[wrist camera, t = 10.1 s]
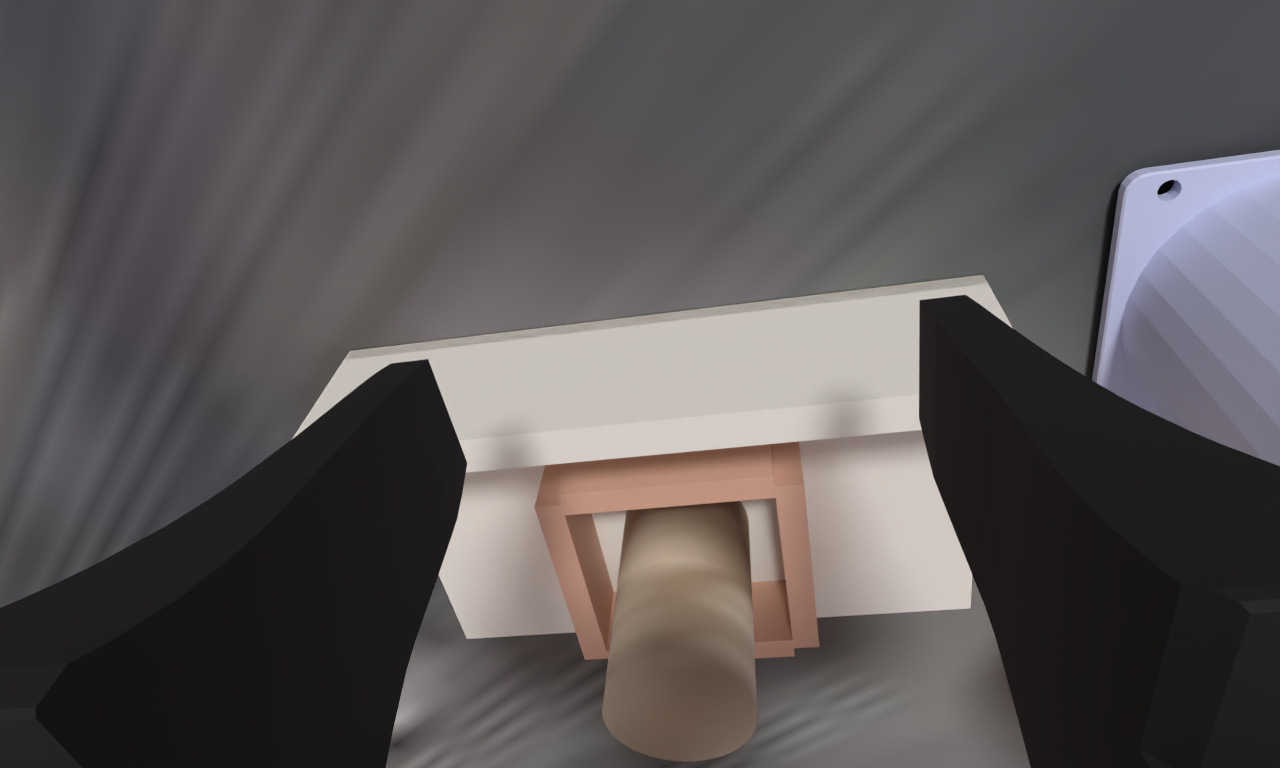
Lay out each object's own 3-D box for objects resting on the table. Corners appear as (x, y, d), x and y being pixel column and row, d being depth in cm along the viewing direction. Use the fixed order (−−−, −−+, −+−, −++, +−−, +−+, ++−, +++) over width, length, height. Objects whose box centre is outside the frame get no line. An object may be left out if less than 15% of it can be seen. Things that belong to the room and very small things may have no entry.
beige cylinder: (767, 497, 27) (781, 693, 21) (723, 578, 29) (725, 774, 23) (645, 463, 26) (627, 653, 21) (610, 548, 29) (584, 740, 23)
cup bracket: (982, 274, 22) (1042, 382, 18) (966, 596, 29) (1007, 727, 25) (349, 351, 25) (279, 458, 21) (470, 628, 32) (434, 749, 28)
